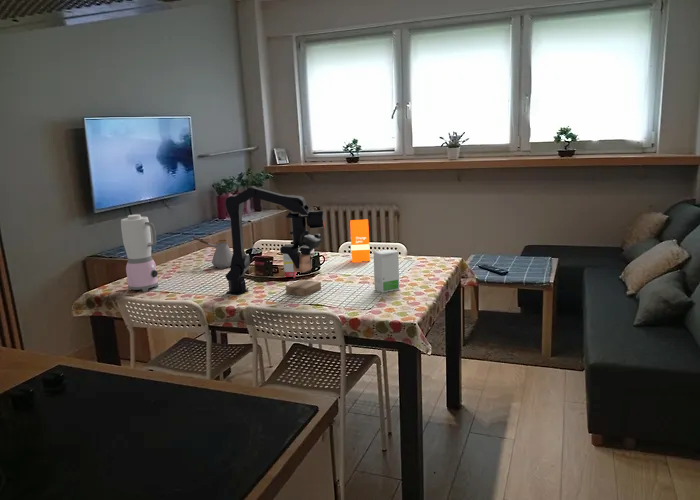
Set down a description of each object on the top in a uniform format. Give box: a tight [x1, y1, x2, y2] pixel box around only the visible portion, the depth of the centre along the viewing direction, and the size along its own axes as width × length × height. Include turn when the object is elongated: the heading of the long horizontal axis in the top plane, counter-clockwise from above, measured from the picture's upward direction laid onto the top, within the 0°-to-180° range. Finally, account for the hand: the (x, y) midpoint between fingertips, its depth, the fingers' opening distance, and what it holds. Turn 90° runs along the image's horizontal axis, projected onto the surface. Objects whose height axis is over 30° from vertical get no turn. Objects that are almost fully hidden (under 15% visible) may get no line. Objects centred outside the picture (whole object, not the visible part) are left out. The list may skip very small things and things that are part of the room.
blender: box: [120, 214, 159, 292], centre depth 238 cm, size 16×12×32 cm
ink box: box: [282, 254, 297, 279], centre depth 249 cm, size 9×5×12 cm, turn 166°
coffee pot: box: [191, 236, 233, 269], centre depth 274 cm, size 21×12×15 cm, turn 78°
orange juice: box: [349, 219, 371, 263], centre depth 270 cm, size 8×9×20 cm
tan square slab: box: [285, 279, 322, 297], centre depth 225 cm, size 10×10×3 cm
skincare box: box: [372, 249, 400, 294], centre depth 219 cm, size 8×7×16 cm
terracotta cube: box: [293, 254, 312, 273], centre depth 222 cm, size 5×5×6 cm
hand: (301, 266), depth 223 cm, fingers closed on terracotta cube, 5 cm apart
